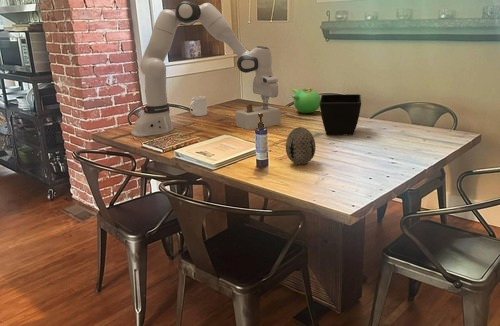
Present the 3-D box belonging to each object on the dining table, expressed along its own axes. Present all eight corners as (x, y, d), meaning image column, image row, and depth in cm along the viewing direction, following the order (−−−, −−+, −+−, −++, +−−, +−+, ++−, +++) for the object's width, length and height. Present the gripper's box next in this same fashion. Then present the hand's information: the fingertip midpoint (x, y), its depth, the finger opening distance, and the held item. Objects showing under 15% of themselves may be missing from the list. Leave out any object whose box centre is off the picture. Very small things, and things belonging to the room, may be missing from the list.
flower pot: (360, 137, 213) (361, 101, 208) (319, 137, 217) (319, 102, 212) (359, 127, 231) (360, 94, 225) (321, 127, 234) (321, 94, 229)
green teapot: (322, 115, 259) (322, 89, 255) (293, 116, 260) (292, 91, 255) (318, 108, 276) (318, 84, 272) (290, 110, 277) (290, 86, 272)
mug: (186, 116, 277) (184, 99, 274) (201, 112, 285) (199, 95, 282) (195, 118, 272) (193, 100, 268) (210, 114, 280) (208, 96, 276)
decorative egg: (321, 162, 183) (321, 125, 178) (304, 170, 174) (303, 132, 170) (297, 157, 190) (296, 122, 185) (280, 165, 182) (278, 128, 177)
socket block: (249, 130, 237) (248, 115, 234) (236, 125, 249) (235, 111, 246) (281, 123, 246) (280, 109, 244) (267, 119, 258) (266, 105, 255)
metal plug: (265, 120, 247) (264, 104, 244) (262, 119, 250) (261, 103, 247) (270, 120, 249) (269, 103, 246) (266, 119, 251) (266, 102, 248)
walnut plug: (249, 122, 242) (248, 106, 239) (246, 121, 245) (245, 105, 242) (254, 121, 244) (253, 105, 241) (251, 120, 246) (250, 104, 243)
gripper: (249, 76, 249) (250, 101, 253) (269, 80, 232) (270, 107, 237) (259, 75, 252) (260, 100, 256) (279, 78, 235) (280, 105, 239)
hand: (265, 103), depth 246 cm, fingers closed, pressing on metal plug
